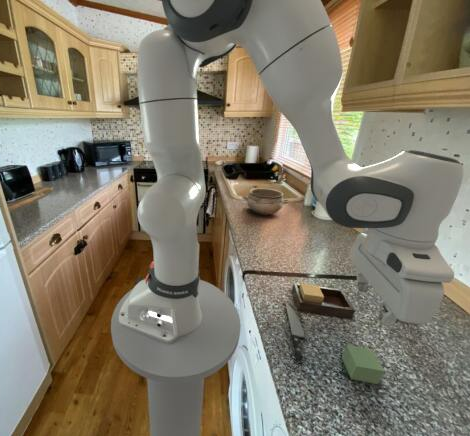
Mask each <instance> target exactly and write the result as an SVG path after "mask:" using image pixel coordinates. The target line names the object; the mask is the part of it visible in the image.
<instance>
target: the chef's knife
mask: <svg viewBox="0 0 470 436" xmlns="http://www.w3.org/2000/svg"><path fill="white" fill-rule="evenodd" d="M284 302H285V309H286V313H287V318H288V323H289V327H290V332H291V336H292V340H293V345H294V349H295V355H296V358H297V359H298V361H302V360H303V359H304V356H303V354H302V352H301V350H300V349H301V348H300V345H299V339H298V338H306V336H305V333H304V330H303V327H302V323H301V320H300V318H299V316H298V314H297V313H296V311H295V310H294V309H293V307H292V306H291V305H290V304H288V303H287V302H286V301H284Z"/></svg>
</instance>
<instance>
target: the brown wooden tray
mask: <svg viewBox="0 0 470 436" xmlns="http://www.w3.org/2000/svg"><path fill="white" fill-rule="evenodd" d="M299 287H300V283H297V282H293V284H292V289H291V293H292V295H293V299H294V302H295V305H296V308H297V311H298V312H304V313H310V314H311V313H312V314H317V315H324V316H331V317H337V318H344V319H350V320H351V319H352V320H353V318H354V315H355V313H356V309H355V307H354V306H353V304H352V303H351V301H350V300H349V298H348V296H347V295H346V293H345V292H344V289H341V288H333V287H326V286H319V288H320V290H321V292H322V294H323V296H324V299H323V302H322V304H320V303H314V302H307V301H303V300H302V298H301V295H300V292H299Z"/></svg>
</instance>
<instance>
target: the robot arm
mask: <svg viewBox="0 0 470 436" xmlns="http://www.w3.org/2000/svg"><path fill="white" fill-rule="evenodd" d="M161 5H162V9H163V12H164V15H165V18H166V20H167V22H168V25H167V26H165V27H163V29H157V30H153V31H152V32H150V33H148V34H147V35H146V36H144V38H143V39H142V40H141V42H140V43H139V45H138V48H137V49H138V50H137V69H136V70H137V73H136V74H137V94H138V104H139V111H140V119H141V127H142V128H141V129H142V135H143V144H144V147H145V149H146V151H147V152H148V154H149V155H150V157H151V160H152V163H153V165H154V169H155V172H156V177H157V178H156V179H157V180H156V182H155V183H154V184H152V185H151V186H150V187H149V188H147V190H146V192H144V194H143V196H142V198H141V200H140V201H139V204H138V206H137V211H136V214H137V220H138V223H139V225H140V227H141V229H142V230H143V231H144V232H145V233H146V234H147V235H149V238H150V241H151V245H152V253H153V261H151V263H150V264H149V269H148V270H147V272H146V276H145V278H142V277H140V278H139V277H136V278H135V284H134V285H135V286H134V287H133V288H132V289H133V290H132V289H131V290H132V292H131V293H130V296H129V297H128V298H127V299H126V300H125V302H124V304H123V305H122V307H121V310H120V313H119V324H120V325H121V326H123V327H125V328H128V329H131V330H133V331H136V332H138V333H141V334H143V335H146V336H149V337H151V338H154V339H156V340H159V341H161V342H164V343H167V344H170V343H172V342H174V341H175V340H176V339H177V338H179V337H181V336H183V335H186V334H189V333H191V332H193V331H194V330H195V329H196V328H197V327H198V326H199V325H200V323H201V320H202V312H201V309H200V305H199V298H198V293H199V289H200V280H201V277H200V276H201V274H200V273H201V272H200V269H199V262H200V261H199V260H200V242H199V240H198V231H197V220H198V215H199V211H200V209H201V207H202V205H203V203H204V201H205V198H206V194H207V193H206V192H207V191H206V190H207V189H206V180H205V171H204V164H203V158H202V152H201V145H200V131H199V130H200V129H199V110H198V109H199V108H198V89H197V88H198V87H197V74H198V70H199V68H205V67H206V66H208V65H210V64H212V63H213V62H216V61H218V60H220V59H222V58H224V57H226V56H228V55H229V54H230V53H232V52H233V51H234V50H235V49H236V47H238V46H239V47H241V48H242V49H243V50H245V52H246V53H247V54H248V56H249V58H250V60H251V62H252V64H253V66H254V68H255V71H256V73H257V75H258V77H259V80H260V82H261V84H262V86H263V88H264V90H265V91H266V94H268V97H269V98H270V100H271V101H272V102H273V104H274V106H275V107H276V108H277V110H279V112H280V113H281V114H282V115H283V116H284V118H285V119H286V120H287V121H288V122H289V123H290V125H291V126H292V127H293V129H294V131H295V132H296V134H297V136H298V139H299V140H300V143H301V145H302V148H303V150H304V153H305V155H306V157H307V160H308V162H309V166H310V170H311V173H310V174H311V175H310V191H311V195H312V196H313V198H314V199H315V200H316V201H317V202H318V203H319V204H320V206H321V207H322V209H323V210H324V211H325V213H326V215H328V217H329V218H330V219H331V220H332V221H333V222H335V223H336V224H337V225H340V226H342V227H345V228H350V229H362V231H361V233H359V234H358V235H357V236H356V238H355V240H354V242H353V244H352V246H351V249H350V251H349V260H350V262H351V263H352V264H353V265H354V267H355V268H356V271H355V272H356V283H355V288H356V289H357V290H358V292H363V293H366V292H368V291H369V288H370V286H371V288H372V289H373V290H374V291H375V292H376V293H377V295H378V296H379V297H380V299H381V300H382V301H383V303H384V302H385V303H386V305H387V306H388V307H387V310H388V311H387V310H386V311H387V312H385V311H380V313H379V316H377V318H378V320H379V321H380V323H381V324H382V326H386V327H393V326H394V325H395V323H396V321H397V320H399V321H400V322H402V323H407V324H415V325H426V324H429V323H430V322H431V321H432V320H433V318H434V317H435V315H436V313H437V311H438V309H439V308H440V305H441V304H442V301H443V299H444V295H445V288H444V284H450V283H451V282H452V281H453V280H454V278H455V271H454V270H453V269H452V267H451V266H450V265H449V263H448V262H447V261H446V259H445V258H444V256H443V255H442V253H441V251H440V249H439V247H438V246H437V245H435V244H436V242H437V240H438V238H439V229H440V226H441V224H442V223H443V222H444V220H445V219H446V218H447V217H448V216H449V215H450V214H451V211H452V209H453V207H454V204H455V202H456V200H457V198H458V195H459V192H460V189H461V186H462V183H463V178H464V166H463V164H462V163H461V162H460V161H459V160H457V159H455V158H452V157H449V156H444V155H440V154H435V153H430V152H425V151H420V150H411V149H409V150H403V151H401V152H400V153H399V154H397V155H396V156H393V157H391V158H389V159H386V160H384V161H381V162H378V163H375V164H371V165H368V166H363V167H362V166H360V165H359V164H358V163H357V162H355V161H354V160H352V159H351V158H350V157H349V155H347V153H346V150H345V149H344V145H343V143H342V141H341V138H340V135H339V131H338V129H337V125H336V123H335V121H334V116H333V105H334V100H335V97H336V94H337V91H338V89H339V87H340V84H341V81H342V79H343V74H344V69H343V61H342V55H341V49H340V44H339V41H338V38H337V36H336V32H335V30H334V28H333V24H332V22H331V20H330V17H329V15H328V13H327V10H326V8H325V6H324V4H323V2H322V0H161ZM163 336H166V337H163Z"/></svg>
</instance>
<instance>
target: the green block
mask: <svg viewBox="0 0 470 436" xmlns="http://www.w3.org/2000/svg"><path fill="white" fill-rule="evenodd" d="M341 359H342V362H343V364H344V367H345V369H346V371H347V374H348V376H349V378H350V380H352V381H353V380H354V381H359V382H363V383H364V382H365V383H369V384H374V385H379V383H380V381H381V379H382V378H383V375H384V374H385V369H384V368H383V366H382V364H381V362H380V361H379V359H378V358H377V356H376V353H374V350H373V348H372V349H371V348H367V347H366V348H365V347H360V346H355V345H348V344H346V345H345V348H344V350H343V352H342V356H341Z"/></svg>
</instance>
